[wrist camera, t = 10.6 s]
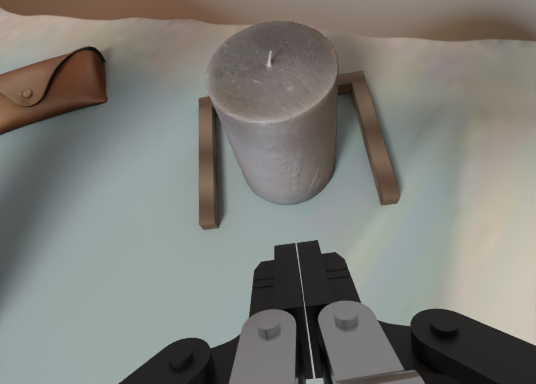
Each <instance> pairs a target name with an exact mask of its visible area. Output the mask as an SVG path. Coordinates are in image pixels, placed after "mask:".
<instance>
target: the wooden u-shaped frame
mask: <svg viewBox="0 0 536 384" xmlns="http://www.w3.org/2000/svg"><path fill="white" fill-rule="evenodd" d="M350 92H351V95H352V98H353V102H354V106H355V110H356V113H357V117H358V121H359V124H360V128H361V132H362V136H363V139H364V143H365V147H366V150H367V154H368V158H369V162H370V165H371V169H372V173H373V177H374V180H375V184H376V188H377V191H378V195H379V199H380V203H381V205H389V204H396V203H398V200H399V198H400V194H399V190H398V187H397V184H396V180H395V177H394V174H393V170H392V167H391V164H390V160H389V157H388V154H387V150H386V147H385V144H384V140H383V137H382V134H381V130H380V127H379V124H378V120H377V117H376V114H375V110H374V107H373V104H372V100H371V97H370V94H369V90H368V87H367V84H366V80H365V77H364V74H363V71H359V72H353V73H347V74H341V75H338V94H344V93H350ZM215 114H217V112H216V109H215V107H214V105H213V103H212V100H211V98H210V97H203V98H199V225H200V226H201V227H202V228H203V230H207V229H214V228H218V196H217V163H216V131H215Z"/></svg>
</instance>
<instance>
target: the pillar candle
mask: <svg viewBox="0 0 536 384" xmlns="http://www.w3.org/2000/svg"><path fill="white" fill-rule="evenodd" d="M204 80H205V85H204V86H205V90H206V91H207V92H208V96H209V97H210V98H211V100H212V103H213V105H214V107H215V109H216V112H217V114H218V116H219V118H220V121H221V123H222V126H223V128H224V131H225V133H226V135H227V138H228V140H229V143H230V145H231V147H232V150H233V152H234V154H235V157H236V159H237V161H238V164H239V166H240V168H241V170H242V173H243V175H244V177H245V180H246V181H247V184H248V185H249V187H250V188H251V190H252V191H253V192H254V193H255V194H257V195H258V196H260V197H262V198H263V199H265V200H267V201H270V202H273V203H277V204H282V205H291V204H298V203H301V202H305V201H307V200H309V199H311V198H313V197H314V196H316V195H317V194H318V193H320V192H321V190H323V189H324V187H325V186H326V185H327V184H328V183H329V181H330V179H331V177H332V175H333V172H334V166H335V150H336V132H337V131H336V130H337V99H338V59H337V55H336V52H335V49H334V48H333V45H332V43H331V42H330V41H329V40H328V39H327V38H326V37H324V36H323V35H322V34H321V33H320V32H319V31H317V30H315V29H312V28H311V27H308V26H305V25H302V24H297V23H294V22H267V23H262V24H257V25H254V26H251V27H249V28H246V29H244V30H242V31H240V32H238V33H236V34H235V35H233V36H231V37H230V38H229V39H227V40H226V41H225V42H224V43H223V44H222V45H221V46H220V47H219V48H218V50H217V51H216V52H215V54H214V55H213V56H212V58H211V60H210V62H209V65H208V68H207V71H206V72H205V74H204Z"/></svg>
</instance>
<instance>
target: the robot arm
mask: <svg viewBox="0 0 536 384" xmlns="http://www.w3.org/2000/svg"><path fill="white" fill-rule="evenodd" d="M297 247H298V255H299V262H300V270H301V278H302V285H303V293H304V301H305V308H306V315H307V322H308V329H309V336H310V342H311V349H312V356H313V363H314V370H315V377H316V378H323V381H324V384H536V346H535V345H533V344H530V343H528V342H526V341H523V340H521V339H518V338H516V337H514V336H511V335H509V334H507V333H504V332H502V331H500V330H497V329H495V328H492V327H490V326H488V325H485V324H483V323H481V322H478V321H476V320H474V319H471V318H469V317H467V316H464V315H462V314H459V313H457V312H454V311H450V310H445V309H428V310H424V311H421V312H419V313H417V314H416V315H415V316H414V317H413V318H412V320H411V326H403V325H395V324H388V323H385V322H382V321H379V320H377V318H376V317H375V315H374V313H373V312H372V310H371V309H370V308H369V307H367V306H366V305H364V304H361V301H360V299H359V296H358V293H357V291H356V288H355V285H354V283H353V280H352V278H351V275H350V272H349V270H348V267H347V264H346V262H345V259H344V258H342V257H341V256H340V255H338V254H337V253H336V252H333V253H325V254H321V251H320V247H319V243H318V240H315V241H307V242H300V243H297ZM252 289H253V290H252V296H251V305H250V314H249V319H248V320H247V321H246V322H245V323H244V325H243V327H242V331H241V334H240V335H239V336H237V337H236V338H234V339H233V340H231V341H229V342H227V343H224V344H222V345H219V346H216V347H214V348H211V349H210V347H209V345H208V344H207V342H205V341H204V340H202V339H199V338H186V339H181V340H178V341H176V342H173V343H172V344H170V345H168V346H167V347H165V348H164V349H163V350H161V351H160V352H159V353H157V354H156V355H155V356H154V357H152V358H151V359H150V360H148V361H147V362H146V363H145V364H143V365H142V366H141V367H139V368H138V369H137V370H136V371H134V372H133V373H132V374H131V375H129V376H128V377H127V378H125V379H124V380H123V381H122V382H120V383H119V384H306V379H313V372H312V364H311V357H310V349H309V341H308V333H307V325H306V317H305V309H304V301H303V293H302V286H301V279H300V273H299V266H298V259H297V252H296V245H295V243H292V244H284V245H277V246H275V247H274V260H271V261H263V262H261V263H260V264H259V265H258V266H257V268H256V269H255V270H254V277H253V287H252Z"/></svg>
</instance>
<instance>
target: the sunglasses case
mask: <svg viewBox="0 0 536 384" xmlns="http://www.w3.org/2000/svg"><path fill="white" fill-rule="evenodd" d="M104 62H106V61H105V59H104V58H103V56H102V54H101V53H100V52H99V51H98V50H97V49H96V48H94V47H90V46H88V47H83V48H80V49H78V50H75V51H73V52H71V53H69V54H66V55H62V56H58V57H55V58H51V59H48V60H44V61H41V62H37V63H34V64H31V65H28V66H25V67H21V68H19V69H16V70H13V71H9V72H7V73H4V74H1V75H0V135H1V134H4V133H6V132H9V131H12V130H15V129H18V128H20V127H23V126H26V125H30V124H32V123H35V122H39V121H42V120H45V119H48V118H51V117H54V116H58V115H61V114H64V113H67V112H70V111H74V110H77V109H80V108H84V107H88V106H92V105H98V104H101V103H104V102H106V101H107V99H108V97H107V95H106V81H105V67H104Z"/></svg>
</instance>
